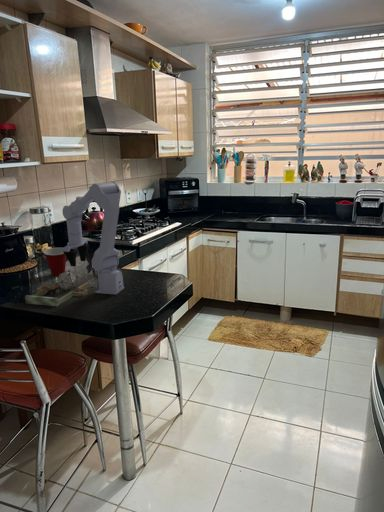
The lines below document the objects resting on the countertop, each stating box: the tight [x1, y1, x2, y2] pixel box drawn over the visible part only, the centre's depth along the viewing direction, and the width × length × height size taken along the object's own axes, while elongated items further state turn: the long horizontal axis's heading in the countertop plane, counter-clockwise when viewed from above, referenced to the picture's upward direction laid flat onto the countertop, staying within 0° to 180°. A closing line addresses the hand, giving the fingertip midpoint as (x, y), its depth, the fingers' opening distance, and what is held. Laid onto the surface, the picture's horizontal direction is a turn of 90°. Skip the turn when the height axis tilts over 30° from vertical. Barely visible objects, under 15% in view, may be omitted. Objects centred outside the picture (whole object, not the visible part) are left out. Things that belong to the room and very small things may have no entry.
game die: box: [55, 269, 79, 293], centre depth 157 cm, size 9×8×10 cm
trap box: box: [24, 282, 90, 307], centre depth 152 cm, size 22×22×3 cm
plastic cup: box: [43, 247, 67, 277], centre depth 177 cm, size 11×11×12 cm
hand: (78, 263), depth 164 cm, fingers open, 7 cm apart
